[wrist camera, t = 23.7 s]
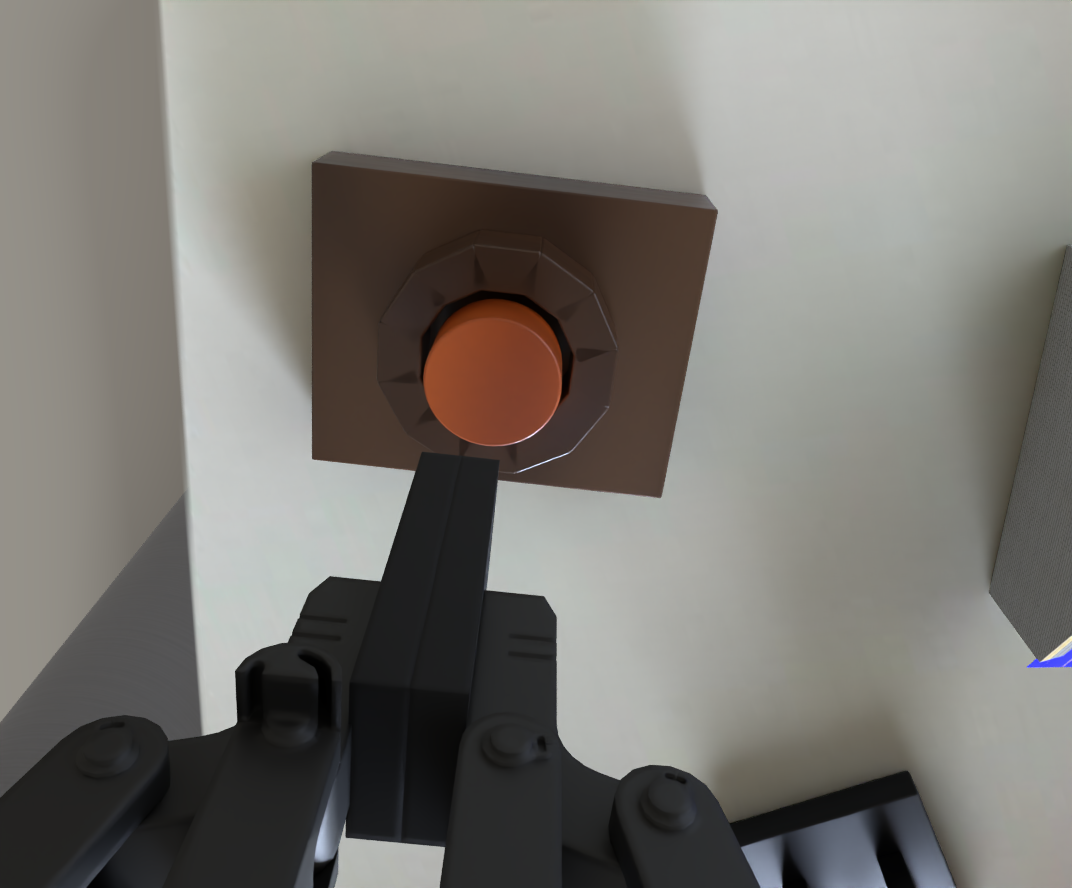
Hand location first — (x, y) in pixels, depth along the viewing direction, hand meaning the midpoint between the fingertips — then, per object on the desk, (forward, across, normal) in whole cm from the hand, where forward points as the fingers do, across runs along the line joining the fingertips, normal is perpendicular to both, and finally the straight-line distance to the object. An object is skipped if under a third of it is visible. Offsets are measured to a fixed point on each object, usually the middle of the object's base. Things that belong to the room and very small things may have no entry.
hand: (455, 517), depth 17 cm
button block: (+12, 0, 0) cm, 12 cm away
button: (+8, 0, 0) cm, 8 cm away
